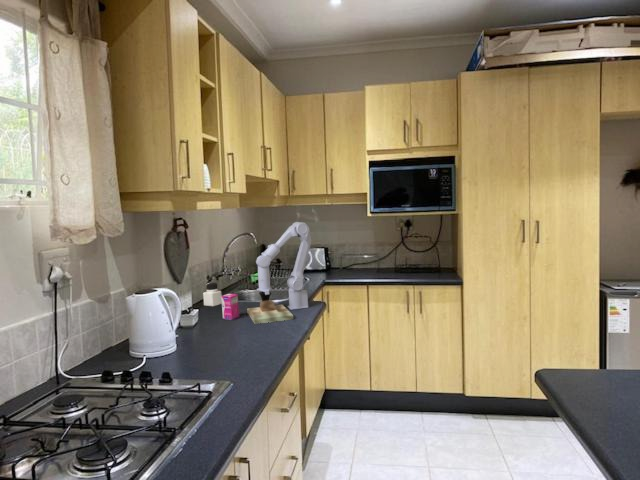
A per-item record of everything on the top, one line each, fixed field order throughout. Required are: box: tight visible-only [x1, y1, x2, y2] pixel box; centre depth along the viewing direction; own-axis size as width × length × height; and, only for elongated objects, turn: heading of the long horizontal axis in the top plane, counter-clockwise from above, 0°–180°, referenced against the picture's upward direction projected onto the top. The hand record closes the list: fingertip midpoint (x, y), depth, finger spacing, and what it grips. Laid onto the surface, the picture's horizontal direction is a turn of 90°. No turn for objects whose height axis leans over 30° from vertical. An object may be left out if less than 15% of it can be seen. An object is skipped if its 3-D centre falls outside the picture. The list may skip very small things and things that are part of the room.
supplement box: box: [221, 293, 240, 321], centre depth 221 cm, size 6×6×12 cm
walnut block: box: [259, 299, 275, 312], centre depth 227 cm, size 6×6×4 cm
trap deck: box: [246, 304, 294, 325], centre depth 223 cm, size 18×24×2 cm
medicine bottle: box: [202, 282, 223, 307], centre depth 254 cm, size 7×7×12 cm
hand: (265, 306), depth 232 cm, fingers closed
